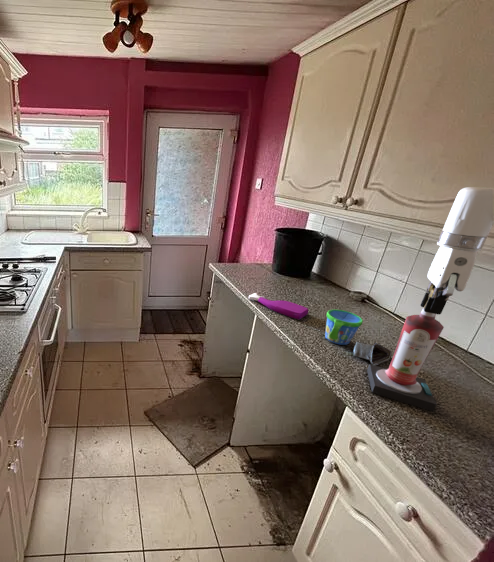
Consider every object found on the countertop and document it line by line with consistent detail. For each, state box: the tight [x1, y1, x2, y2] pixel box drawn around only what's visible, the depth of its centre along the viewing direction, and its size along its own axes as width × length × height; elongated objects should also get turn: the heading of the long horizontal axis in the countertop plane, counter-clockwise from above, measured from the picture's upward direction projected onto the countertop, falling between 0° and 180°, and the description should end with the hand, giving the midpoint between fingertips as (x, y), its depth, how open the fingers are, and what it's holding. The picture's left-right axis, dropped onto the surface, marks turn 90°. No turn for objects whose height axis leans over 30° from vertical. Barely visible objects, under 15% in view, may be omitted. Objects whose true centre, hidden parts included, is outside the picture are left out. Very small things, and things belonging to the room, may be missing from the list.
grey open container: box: [353, 341, 393, 366], centre depth 104 cm, size 10×7×12 cm
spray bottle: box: [248, 292, 309, 320], centre depth 139 cm, size 3×11×25 cm
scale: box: [366, 363, 437, 413], centre depth 89 cm, size 13×12×3 cm
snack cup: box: [324, 308, 364, 346], centre depth 112 cm, size 16×11×10 cm
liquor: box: [385, 288, 445, 385], centre depth 84 cm, size 7×7×28 cm
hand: (430, 309), depth 81 cm, fingers closed on liquor, 2 cm apart
